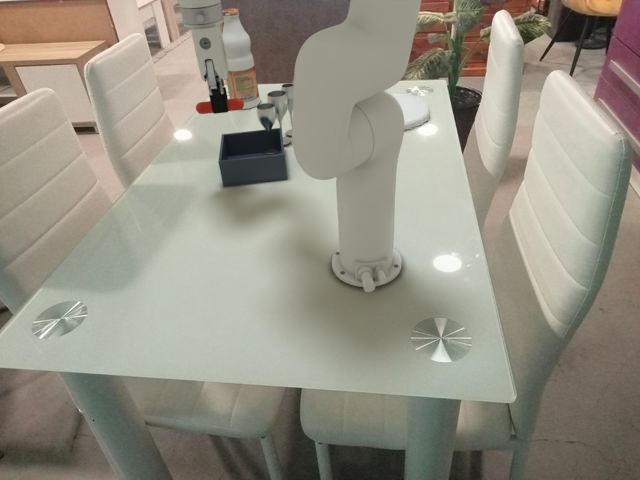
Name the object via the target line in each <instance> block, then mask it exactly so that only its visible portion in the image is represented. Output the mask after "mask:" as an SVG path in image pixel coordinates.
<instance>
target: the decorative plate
mask: <svg viewBox="0 0 640 480" xmlns="http://www.w3.org/2000/svg"><path fill="white" fill-rule="evenodd" d="M388 93H389V94H391V95H392V96H393V97H395V99H396V100H397V101H398V103H399V104H400V106H401V108H402V111H403V115H404V131H408V130H411V129H413V128H416V127H419V126H422V125H423V124H424V123H425V122H427V121H428V120H429V119H430V106H429V104H428V102H426V100H425V99H424V98H421V97H418V96H415V95H412V94H407V93H399V92H397V93H396V92H388Z"/></svg>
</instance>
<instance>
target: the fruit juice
mask: <svg viewBox="0 0 640 480" xmlns="http://www.w3.org/2000/svg"><path fill="white" fill-rule="evenodd" d="M222 12H223V18H224V22H223V26H222V27H223V28H222V37H223V42H224V47H225V53H226V57H227V62H228V77H227V79H226V80H225V81H226V87H227V92H228V96H229V99H235V98H240V99H242V100H243V102H244V107H243V108H242V109H241V110H248V109H253V108H255V107H257V106H258V105H260V102H261V101H260V100H261V99H260V98H261V97H260V93H259V92H260V91H259V86H258V84H259V83H258V78H257V71H256V65H255V59H254V55H253V53H252V51H251V47H252V44H251V43H252V41H251V38H250V35H249V34H248V33H247V31H246V30H245V29H244V26H243V24H242V22H241V20H240V17H239V16H240V11H239V8H226V9H222Z"/></svg>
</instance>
